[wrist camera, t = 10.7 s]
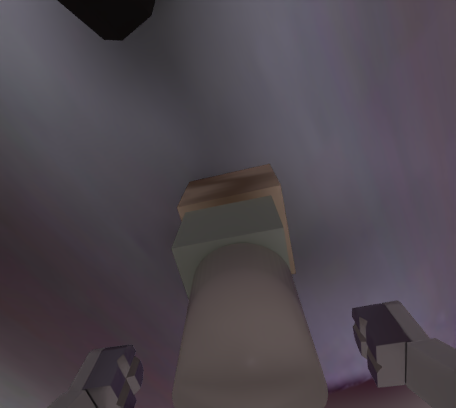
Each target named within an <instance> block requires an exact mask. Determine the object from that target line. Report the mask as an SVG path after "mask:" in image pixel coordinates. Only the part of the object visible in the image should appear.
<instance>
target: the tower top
mask: <svg viewBox="0 0 456 408" xmlns="http://www.w3.org/2000/svg"><path fill="white" fill-rule="evenodd" d="M236 243H250V244H256V245H261V246H264V247H266V248H268V249H270V250H272V251H274V252H275V253H277V254H278V255H279V256H280V257H282V258H283V260H284V261H285V262H286V263H287V265H288V267H289V269H290V264H289V258H288V252H287V245H286V239H285V233H284V227H283V225H282V222H281V219H280V217H279V214H278V212H277V209H276V206H275V204H274V201H273V199H272V196H271V195H270V196H265V197H260V198H255V199H250V200H245V201H240V202H235V203H230V204H225V205H220V206H215V207H210V208H205V209H200V210H195V211H190V212H185V215H184V217H183V220H182V222H181V225H180V227H179V230H178V233H177V235H176V238H175V240H174V243H173V245H172V248H171V250H172V252H173V255H174V258H175V261H176V264H177V267H178V270H179V273H180V276H181V279H182V282H183V285H184V288H185V290H186V293H187V296H188V299H189V298H190V292H191V287H192V281H193V276H194V273H195V270H196V268H197V266H198V265H199V263H200V262H201V261H202V260H203V258H205V257H206V256H207V255H208V254H209V253H211V252H212V251H214V250H216V249H218V248H220V247H223V246H226V245H230V244H236ZM290 271H291V270H290Z"/></svg>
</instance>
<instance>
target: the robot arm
mask: <svg viewBox="0 0 456 408" xmlns="http://www.w3.org/2000/svg"><path fill="white" fill-rule="evenodd" d="M352 317H353V319H354V321H355V324H354V326H353V331H354V337H355V340H356V344H357V346H358V349H359V351H360V353H361V355H362V356H363V357H365V358H366V359H367V362H368V369H369V371H370V373H371V375H372V377H373V379H374V381H375V383H376V385H377V387H388V386H397V385H406V386H407V387H408V388H409V389H410V390H412V391H413V392H414V393H415V394H417V395H418V396H419V397H420V398H421V399H423V400H424V401H425V402H426V403H428V404H429V405H430V406H431V407H432V408H456V349H455V348H453V347H451V346H449V345H447V344H445V343H443V342H441V341H440V340H438V339H436V338H434V339H430V338H429V337H428V335H427V334H426V333H425V332H424V331H423V329H422V328H421V327H420V326H419V324H418V323H417V322H416V321H415V320H414V318H413V317H412V316H411V315H410V313H409V312H408V311H407V310H406V309H405V307H404V306H403V305H402V304H401V302H399V301H391V302H385V303H382V304H381V303H379V304H374V305H368V306H362V307H356V308H352ZM135 352H136V350H135V348H134V347H133V345H122V346H115V347H107V348H102V349H94V350H92V351H91V352H90V353H89V354H88V356H87V358H86V359H85V361H84V363H83V365H82V366H81V368H80V370H79V372H78V374H77V375H76V377H75V379H74V381H73V383H72V384H71V386H70V388H69V390H68V392H67V393H63V394H62V395H61V396H59V397H58V398H57V399H56V400H55V401H54V402H53V403H52V404H51V405H49V406H48V407H47V408H134V407H135V404H136V401H137V400H136V398H135V393H136V392H137V391H138V390H139V389H140V388H141V384H142V381H143V366H142V363H141V361H140V359H138V358H137V357H135V356H134V355H135Z"/></svg>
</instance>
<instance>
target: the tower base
mask: <svg viewBox="0 0 456 408" xmlns="http://www.w3.org/2000/svg"><path fill="white" fill-rule="evenodd" d="M270 195H271V196H272V199H273V201H274V204H275V206H276V209H277V212H278V214H279V217H280V219H281V222H282V225H283V227H284V233H285V239H286V245H287V252H288V258H289V264H290V270H291V274H295V273H296V271H295V265H294V260H293V254H292V248H291V242H290V236H289V231H288V225H287V219H286V213H285V207H284V201H283V196H282V190H281V185H280V183H279V181H278V179H277V177H276V175H275V173H274V171H273V170H272V168H271V166H270V164H267V165H262V166H258V167H253V168H249V169H244V170H240V171H235V172H231V173H226V174H222V175H218V176H213V177H209V178H204V179H200V180H195V181H191V182H189V184H188V186H187V188H186V190H185V192H184V194H183V196H182V198H181V200H180V202H179V204H178V206H177V209H178V212H179V215H180V218H181V221H182V220H183V217H184V215H185V212H190V211H195V210H200V209H205V208H210V207H215V206H220V205H225V204H230V203H235V202H240V201H245V200H250V199H255V198H260V197H265V196H270Z"/></svg>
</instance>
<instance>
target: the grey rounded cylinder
mask: <svg viewBox="0 0 456 408" xmlns="http://www.w3.org/2000/svg"><path fill="white" fill-rule="evenodd" d="M327 398H328V389H327V384H326V381H325V378H324V375H323V371H322V368H321V365H320V362H319V359H318V356H317V353H316V349H315V346H314V343H313V340H312V337H311V334H310V331H309V328H308V324H307V321H306V318H305V315H304V312H303V309H302V306H301V302H300V299H299V296H298V293H297V290H296V287H295V284H294V280H293V277H292V274H291V271H290V269H289V267H288V265H287V263H286V262H285V261H284V260H283V258H282V257H280V256H279V255H278V254H277V253H275V252H274V251H272V250H270V249H268V248H266V247H264V246H261V245H256V244H250V243H236V244H230V245H226V246H223V247H220V248H218V249H216V250H214V251H212V252H211V253H209V254H208V255H207V256H206V257H205V258H203V260H202V261H201V262H200V263H199V265H198V266H197V268H196V270H195V273H194V276H193V281H192V287H191V292H190V298H189V303H188V309H187V314H186V320H185V325H184V331H183V336H182V342H181V347H180V353H179V358H178V364H177V369H176V375H175V380H174V386H173V393H172V399H173V404H174V407H175V408H324V407H325V405H326V402H327Z"/></svg>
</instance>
